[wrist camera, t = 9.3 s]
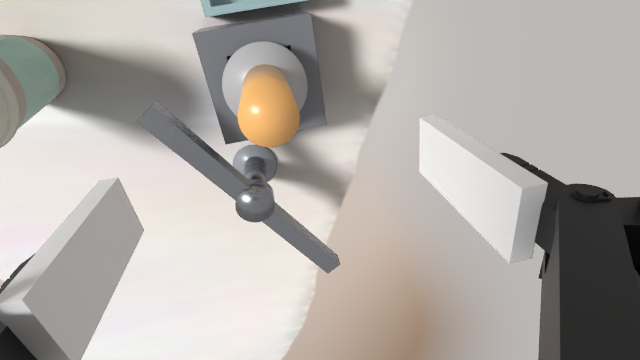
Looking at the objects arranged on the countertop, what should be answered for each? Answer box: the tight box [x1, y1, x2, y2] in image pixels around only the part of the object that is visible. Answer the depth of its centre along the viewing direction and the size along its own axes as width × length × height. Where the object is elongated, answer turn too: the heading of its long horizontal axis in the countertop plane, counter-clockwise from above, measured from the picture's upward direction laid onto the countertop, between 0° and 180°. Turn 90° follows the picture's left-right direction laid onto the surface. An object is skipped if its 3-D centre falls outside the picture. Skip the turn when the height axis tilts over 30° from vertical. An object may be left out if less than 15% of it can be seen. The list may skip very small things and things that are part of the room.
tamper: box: [222, 40, 308, 147], centre depth 28 cm, size 7×7×15 cm
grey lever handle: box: [137, 101, 340, 273], centre depth 35 cm, size 24×4×9 cm, turn 40°
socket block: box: [192, 12, 327, 181], centre depth 35 cm, size 18×11×5 cm, turn 8°
